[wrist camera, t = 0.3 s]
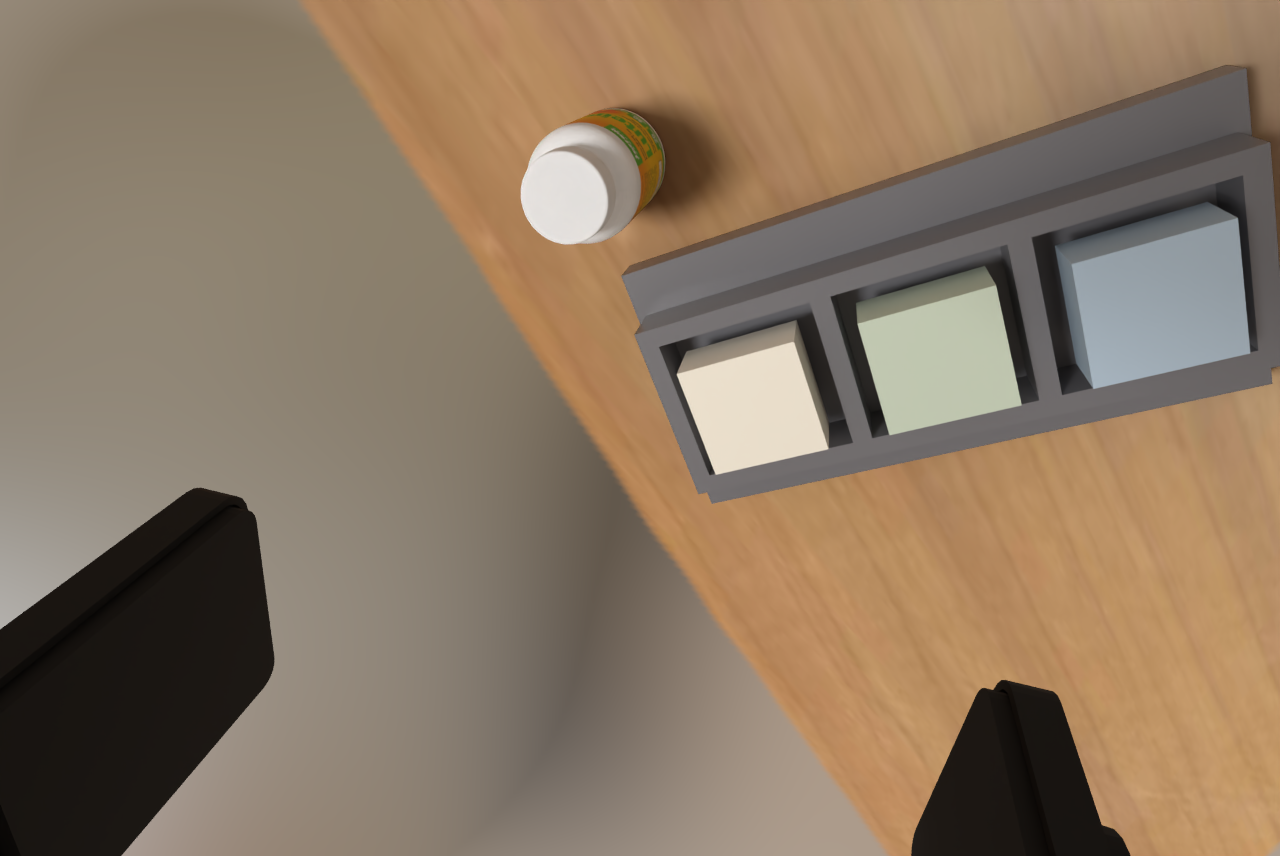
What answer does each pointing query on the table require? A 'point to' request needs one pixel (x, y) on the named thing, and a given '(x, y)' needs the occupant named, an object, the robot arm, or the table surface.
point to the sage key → (939, 351)
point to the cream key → (755, 398)
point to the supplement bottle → (592, 176)
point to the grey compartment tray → (961, 241)
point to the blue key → (1155, 295)
